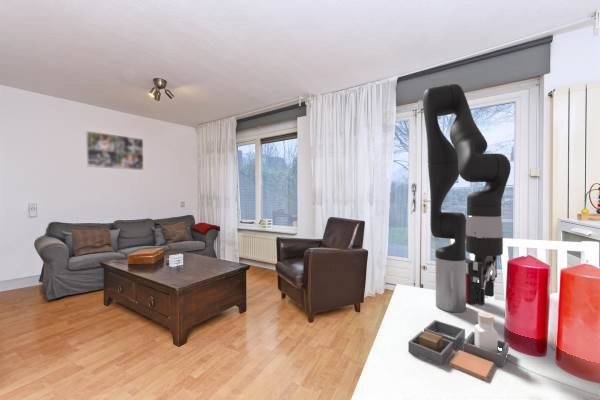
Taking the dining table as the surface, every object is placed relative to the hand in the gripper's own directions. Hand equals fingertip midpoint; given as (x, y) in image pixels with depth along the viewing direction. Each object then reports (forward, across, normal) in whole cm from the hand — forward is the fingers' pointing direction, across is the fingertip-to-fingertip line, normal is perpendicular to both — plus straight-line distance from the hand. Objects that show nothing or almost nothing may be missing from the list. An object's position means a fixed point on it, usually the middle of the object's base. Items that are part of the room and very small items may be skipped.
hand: (483, 299), depth 65 cm
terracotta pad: (+13, +8, 0) cm, 15 cm away
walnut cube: (+14, +9, -9) cm, 19 cm away
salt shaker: (+13, -1, 0) cm, 13 cm away
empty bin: (+13, 0, -9) cm, 16 cm away
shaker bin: (+13, -1, 0) cm, 13 cm away
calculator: (+13, -36, -15) cm, 41 cm away
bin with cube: (+13, +9, -9) cm, 18 cm away
